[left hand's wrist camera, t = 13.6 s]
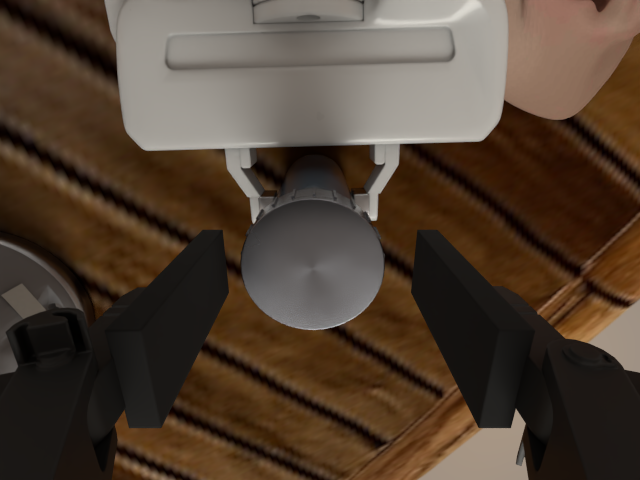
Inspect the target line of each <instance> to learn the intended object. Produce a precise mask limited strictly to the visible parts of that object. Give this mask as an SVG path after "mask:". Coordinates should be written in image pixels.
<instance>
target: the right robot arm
mask: <svg viewBox="0 0 640 480" xmlns="http://www.w3.org/2000/svg"><path fill="white" fill-rule="evenodd" d="M105 6H106V11H107V16H108V21H109V26H110V30H111V33H112V36H113V38H114V40H115V42H116V55H117V74H118V85H119V94H120V103H121V110H122V117H123V122H124V127H125V130H126V132H127V134H128V135H129V136H130V137H131V138H132V139H133V140H134V141H135V142H136V143H137V144H138V145H139V146H140V147H141V148H142V149H144V150H146V151H157V150H192V149H225V154H226V163H227V169H228V171H229V172H230V174H231V175H232V176H233V178H234V179H235V180H236V182H237V183H238V185H239V186H240V187H241V189H242V190H243V191H244V193H245V194H246V196H247V197H250V205H251V215H252V222H253V224H254V223H255V221H256V217H257V216H258V214H259V212H260V210H261V209H263V210H264V209H265V208H266V207H267V206H268V205H269V204H270V203H272V202H273V201H274V199H275V197H276V196H277V190H269V191H264V188H263V187H262V185H261V184H260V182H259V180H258V179H257V177H256V176H255V174H254V173H253V171H252V170H251V168H250V167H251V166H252V165H253V164H255V163H256V162H257V155H256V148H264V147H299V146H335V145H370V159H371V160H372V161H373V162H374V163H376V166H375V168H374V170H373V171H372V173H371V175H370V177H369V178H368V180H367V182H366V184H365V185H364V188H351V195H352V197H353V199H354V202H355V204H357V205H358V206H359V207H360V208H361V209H362V210H363V211H364V212H365V211H366V212H367V213H368V215H369V217H370V219H371V221H376V220H377V214H378V193H381V191H382V190H383V188H384V187H385V185H386V184H387V182H388V180H389V179H390V177H391V176H392V174H393V173H394V171H395V169H396V168H397V166H398V165H399V148H400V144H406V143H442V142H476V141H482V140H483V139H485V138H486V137H487V136H488V135H489V133H490V132H491V131H492V130H493V128H494V127H495V126H496V125H497V124H498V122H499V120H500V117H501V114H502V109H503V103H504V95H505V87H506V76H507V63H508V39H509V22H508V12H507V7H506V3H505V0H105Z"/></svg>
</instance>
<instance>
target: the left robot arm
mask: <svg viewBox="0 0 640 480" xmlns="http://www.w3.org/2000/svg"><path fill="white" fill-rule="evenodd" d="M228 293H229V289H228V279H227V269H226V260H225V250H224V240H223V230H202V231H201V232H200V233H199V234H198V235H197V236H196V237H195V238H194V239H193V240H192V242H191V243H190V244H189V245H188V246H187V247H186V248H185V249H184V250H183V251H182V252H181V253H180V254H179V255H178V256H177V257H176V258H175V259H174V260H173V261H172V262H171V263H170V264H169V265H168V266H167V267H166V268H165V269H164V270H163V271H162V272H161V273H160V274H159V275H158V276H157V277H156V278H155V279H154V280H153V281H152V282H151V283H150V284H149V285H148V287H147V288H136V289H134V290H132V291H130V292H129V293H127V294H125V295H123V296H122V297H121V298H119V299H118V300H117V301H116V302H115V303H114V304H113V305H112V308H109V309H108V310H107V311H106V312H105V313H104V314H103V316H100V317H99V318H98V319H97V320H96V321H95V316H94V311H93V307H92V304H91V301H90V299H89V297H88V295H87V293H86V291H85V289H84V287H83V286H82V284H81V283H80V282H79V280H78V279H77V277H76V276H75V275H74V274H73V273H72V272H71V271H70V269H69V268H68V267H67V266H66V265H64V264H63V263H62V262H61V261H60V260H59V259H58V258H56V257H55V256H54V255H52V254H51V253H49V252H48V251H46V250H45V249H43V248H42V247H40V246H38V245H36V244H34V243H32V242H30V241H28V240H26V239H23V238H20V237H18V236H15V235H11V234H8V233H4V232H0V480H111V479H112V473H113V467H114V460H115V454H116V447H117V441H118V440H117V432H116V429H115V423H116V422H117V420H118V419H119V417H120V415H121V414H122V412H123V411H124V409H125V413H126V417H127V421H128V425H129V428H161V427H162V425H163V423H164V421H165V419H166V417H167V415H168V413H169V411H170V409H171V407H172V405H173V403H174V401H175V399H176V397H177V395H178V393H179V391H180V389H181V387H182V385H183V383H184V381H185V379H186V377H187V375H188V373H189V371H190V369H191V367H192V365H193V363H194V361H195V359H196V357H197V355H198V353H199V351H200V349H201V347H202V345H203V343H204V341H205V339H206V337H207V335H208V333H209V331H210V329H211V327H212V325H213V323H214V321H215V319H216V317H217V315H218V313H219V311H220V309H221V307H222V305H223V303H224V301H225V299H226V297H227V295H228ZM411 293H412V295H413V297H414V299H415V301H416V303H417V305H418V307H419V309H420V311H421V313H422V315H423V317H424V319H425V321H426V323H427V325H428V327H429V329H430V331H431V333H432V335H433V337H434V339H435V341H436V343H437V345H438V347H439V349H440V351H441V353H442V355H443V357H444V359H445V361H446V363H447V365H448V367H449V369H450V371H451V373H452V375H453V377H454V379H455V381H456V383H457V385H458V387H459V389H460V391H461V393H462V395H463V397H464V399H465V401H466V403H467V405H468V407H469V409H470V411H471V413H472V415H473V417H474V419H475V421H476V423H477V425H478V427H479V428H511V425H512V421H513V417H514V413H515V409H517V411H518V412H519V414H520V415H521V417H522V418H523V420H524V421H525V423H526V425H525V429H524V432H523V436H522V440H521V444H520V447H519V451H518V455H517V460H516V464H517V465H520V466H521V465H522V462H523V458H524V457H525V459H526V466H527V472H528V478H529V480H640V373H638V372H633V371H628V370H624V368H623V367H622V365H621V364H620V363H619V362H618V361H617V360H616V359H615V358H614V357H613V356H611V355H610V354H608V353H607V352H605V351H604V350H602V349H600V348H598V347H595V346H593V345H591V344H588V343H585V342H581V341H578V340H572V339H565V338H564V337H563V336H562V335H561V334H560V333H559V332H558V331H557V330H555V329H554V328H553V327H552V326H551V325H550V324H549V323H548V322H547V321H546V320H545V319H544V318H543V317H541V316H540V315H537V312H536V311H535V310H534V309H533V308H532V307H531V306H529V304H528V303H526V302H525V301H524V300H523V299H522V298H521V297H520V296H519V295H518V294H516V293H514V292H512V291H510V290H508V289H506V288H505V287H503V286H492V285H491V284H490V283H489V282H488V281H487V280H486V279H485V278H484V277H483V276H482V275H481V274H480V273H479V272H478V271H477V270H476V269H475V268H474V267H473V266H472V265H471V264H470V263H469V262H468V261H467V260H466V259H465V258H464V257H463V256H462V255H461V254H460V253H459V252H458V251H457V250H456V249H455V248H454V247H453V246H452V245H451V244H450V243H449V242H448V240H447V239H446V238H445V237H444V236H443V235H442V234H441V233H440V232H439V231H438V230H417V240H416V250H415V260H414V269H413V279H412V289H411Z"/></svg>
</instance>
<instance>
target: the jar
mask: <svg viewBox="0 0 640 480" xmlns="http://www.w3.org/2000/svg"><path fill="white" fill-rule="evenodd" d="M313 187H316V189H323V190H329V191H332V192H333V190H336V193H338V194H341V195H343V196H345V197H347V198H348V199H351V198H352V199H353V197H352V195H351V192H350V190H349V187H348V185H347V182H346V180H345V177H344V175H343V172H342V170H341V169H340V167H339V166H338V165H337V164H336V163H335V162H334V161H333V160H332V159H330V158H328V157H326V156H323V155H315V154H314V155H307V156H304V157H302V158H300V159H298V160H297V161H296V162H295V163H294V164H293V165H292V166H291V167H290V169H289V170H288V172H287V175H286V177H285V179H284V181H283V183H282V185H281V187H280V189H279V191H278V194H277V196H276V197H278V198H279V197H281V196H283V195H285V194H288V193H290V192H293V189H296V191H297V190H302V189H313ZM353 200H354V199H353Z"/></svg>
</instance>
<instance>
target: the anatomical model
mask: <svg viewBox="0 0 640 480" xmlns="http://www.w3.org/2000/svg"><path fill="white" fill-rule="evenodd" d="M505 3H506V7H507V12H508V22H509V39H508V63H507V76H506V87H505V95H504V100H505V101H507V102H509V103H510V104H512V105H514V106H516V107H518V108H520V109H522V110H524V111H526V112H529V113H531V114H534V115H537V116H540V117H544V118H547V119H553V120H561V119H566V118H569V117H571V116H573V115H575V114H576V113H578V112H579V111H580V110H581V109H582V108H583V107H584V106H585V105H586V104H587V103H588V102H589V101H590V100H591V99H592V98H593V97H594V95H595V94H596V93H597V92H598V91H599V89H600V88H601V87H602V86H603V84H604V83H605V82H606V81H607V80H608V78H609V77H610V76H611V74H612V73H613V72H614V70H615V69H616V67H617V66H618V64H619V62H620V61H621V59H622V58H623V56H624V55H625V53H626V51H627V50H628V48H629V46H630V44H631V42H632V40H633V37H634V36H635V35H637V34H638V33H639V32H640V0H505Z"/></svg>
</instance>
